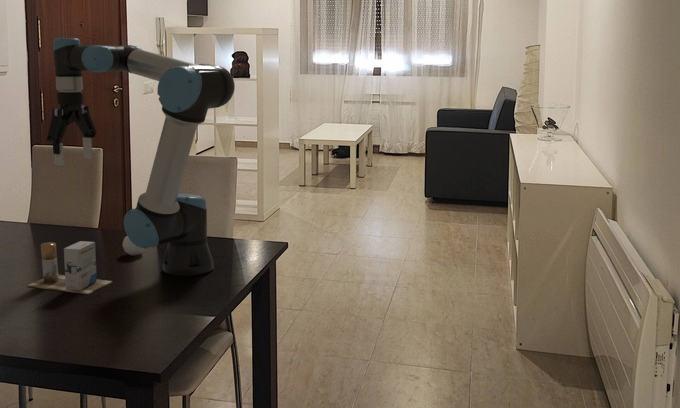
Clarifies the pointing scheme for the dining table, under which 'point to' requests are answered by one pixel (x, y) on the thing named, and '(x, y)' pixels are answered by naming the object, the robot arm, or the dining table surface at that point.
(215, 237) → the dining table surface
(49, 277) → the brown grey rounded cylinder
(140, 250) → the ornament
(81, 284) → the ink box
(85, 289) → the panel
